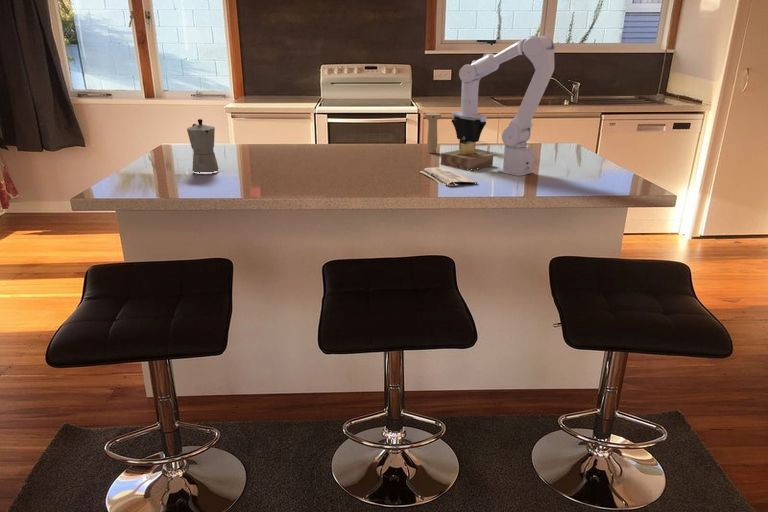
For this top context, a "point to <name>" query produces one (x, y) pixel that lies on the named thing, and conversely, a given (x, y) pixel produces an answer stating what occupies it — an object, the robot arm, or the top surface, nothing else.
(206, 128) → the coffeepot
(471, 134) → the wine bottle
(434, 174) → the newspaper
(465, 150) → the wooden block
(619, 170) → the top surface
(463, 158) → the well block
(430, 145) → the handle
